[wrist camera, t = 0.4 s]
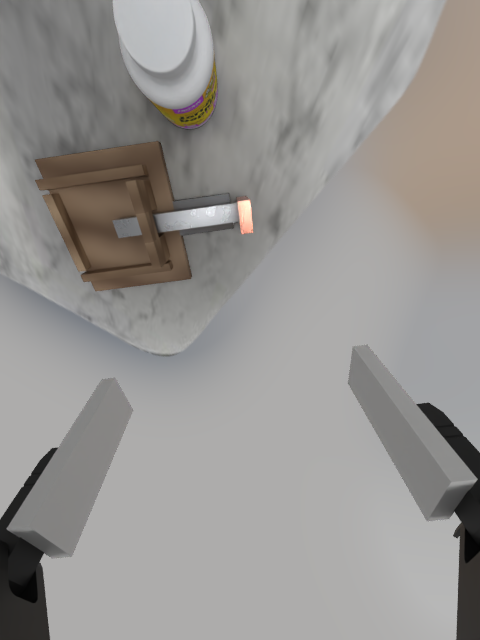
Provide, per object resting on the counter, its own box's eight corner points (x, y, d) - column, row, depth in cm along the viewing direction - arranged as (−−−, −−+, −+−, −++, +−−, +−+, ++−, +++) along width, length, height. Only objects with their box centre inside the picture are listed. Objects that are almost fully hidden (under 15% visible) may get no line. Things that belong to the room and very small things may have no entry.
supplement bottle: (186, 145, 27) (157, 120, 16) (141, 83, 25) (68, 3, 14) (231, 97, 26) (232, 32, 14) (187, 24, 23) (146, -125, 12)
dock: (41, 160, 28) (-4, 155, 22) (221, 133, 27) (219, 121, 22) (99, 288, 36) (76, 306, 30) (239, 269, 35) (240, 285, 30)
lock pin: (116, 214, 29) (87, 222, 23) (246, 196, 29) (250, 199, 23) (125, 239, 31) (100, 253, 25) (248, 222, 30) (253, 232, 24)
